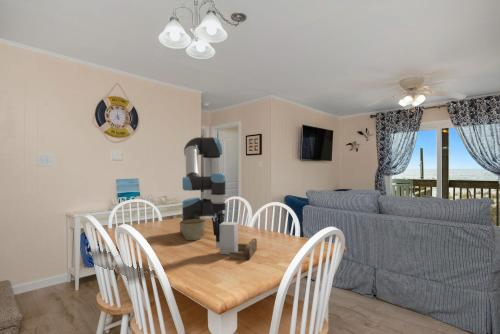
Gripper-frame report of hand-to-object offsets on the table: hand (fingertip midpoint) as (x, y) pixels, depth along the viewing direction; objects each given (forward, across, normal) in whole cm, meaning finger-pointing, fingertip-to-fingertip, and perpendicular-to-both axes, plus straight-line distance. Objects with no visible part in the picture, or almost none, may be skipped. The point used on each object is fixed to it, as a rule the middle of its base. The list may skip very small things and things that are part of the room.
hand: (218, 247), depth 145 cm
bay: (+3, 0, -14) cm, 14 cm away
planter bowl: (+3, +22, +26) cm, 34 cm away
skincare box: (+3, 0, -5) cm, 6 cm away
